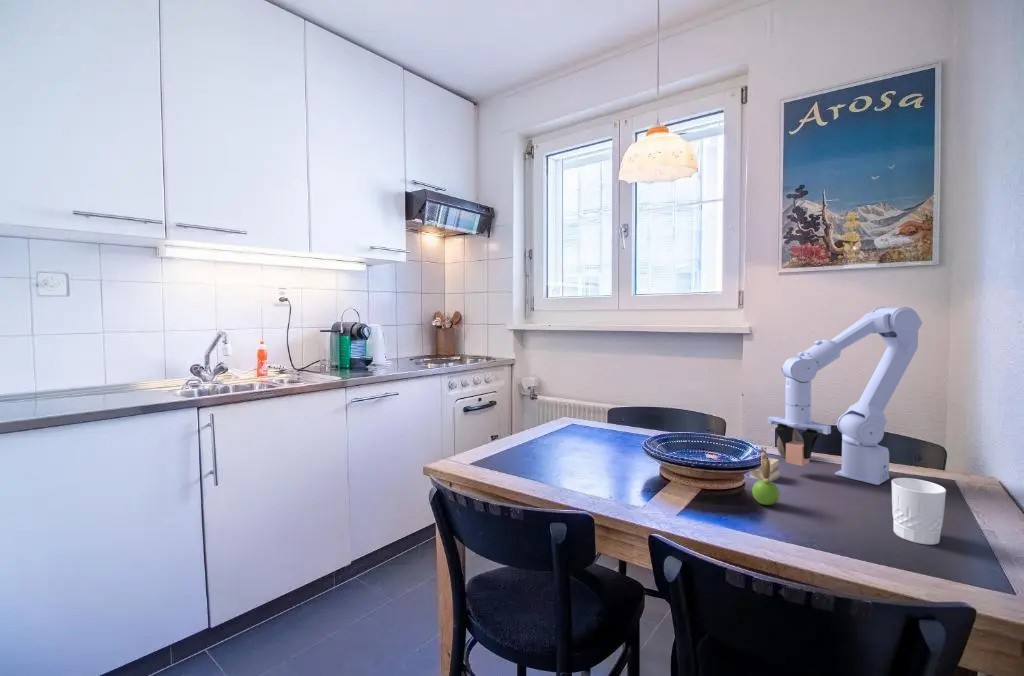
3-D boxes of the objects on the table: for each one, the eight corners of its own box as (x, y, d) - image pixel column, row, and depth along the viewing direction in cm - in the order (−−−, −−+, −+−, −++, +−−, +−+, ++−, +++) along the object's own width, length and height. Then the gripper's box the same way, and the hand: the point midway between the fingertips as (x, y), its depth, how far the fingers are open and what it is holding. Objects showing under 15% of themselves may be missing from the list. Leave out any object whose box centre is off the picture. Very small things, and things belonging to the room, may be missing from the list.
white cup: (879, 528, 95) (880, 478, 94) (916, 525, 95) (917, 476, 95) (916, 548, 87) (918, 494, 86) (956, 545, 87) (958, 492, 87)
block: (809, 462, 124) (809, 443, 123) (802, 466, 121) (802, 446, 121) (793, 458, 127) (793, 440, 127) (785, 462, 125) (785, 443, 124)
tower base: (779, 479, 123) (779, 469, 122) (769, 483, 120) (769, 474, 120) (759, 474, 127) (760, 464, 126) (749, 478, 124) (749, 468, 124)
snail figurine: (775, 499, 110) (776, 447, 109) (781, 510, 103) (782, 456, 103) (749, 496, 111) (750, 445, 110) (753, 507, 105) (754, 454, 104)
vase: (796, 453, 142) (797, 424, 142) (808, 460, 135) (809, 430, 135) (772, 453, 143) (772, 424, 142) (783, 460, 136) (783, 430, 135)
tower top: (778, 469, 123) (778, 459, 123) (771, 474, 119) (771, 464, 119) (758, 464, 127) (758, 455, 126) (750, 469, 123) (750, 459, 123)
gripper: (761, 402, 127) (761, 452, 128) (822, 411, 115) (821, 466, 116) (775, 398, 131) (774, 447, 132) (834, 406, 119) (834, 460, 120)
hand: (797, 455), depth 124 cm, fingers closed on block, 4 cm apart
